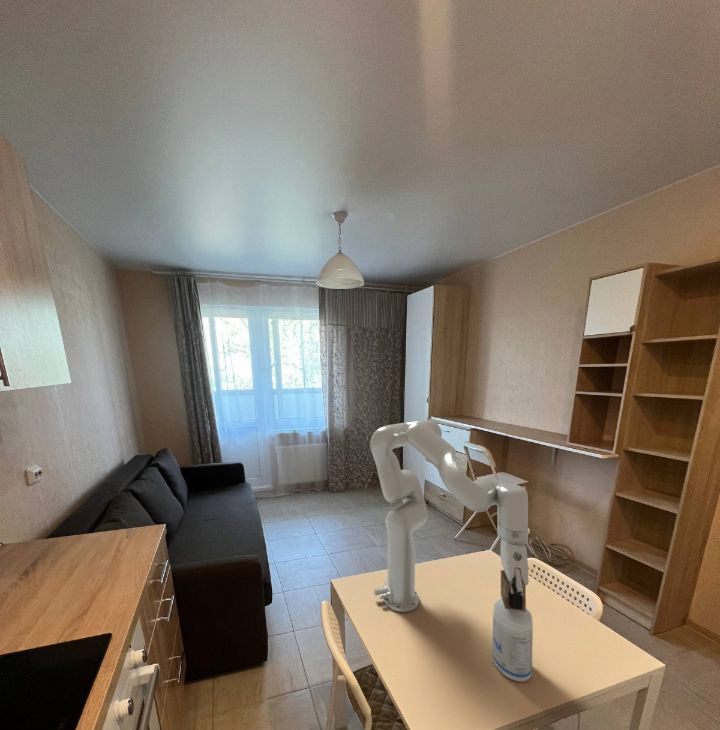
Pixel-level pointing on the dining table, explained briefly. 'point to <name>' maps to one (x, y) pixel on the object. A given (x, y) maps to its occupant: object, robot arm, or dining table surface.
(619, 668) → the dining table surface
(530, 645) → the supplement tub
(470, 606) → the dining table surface
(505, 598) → the walnut block
